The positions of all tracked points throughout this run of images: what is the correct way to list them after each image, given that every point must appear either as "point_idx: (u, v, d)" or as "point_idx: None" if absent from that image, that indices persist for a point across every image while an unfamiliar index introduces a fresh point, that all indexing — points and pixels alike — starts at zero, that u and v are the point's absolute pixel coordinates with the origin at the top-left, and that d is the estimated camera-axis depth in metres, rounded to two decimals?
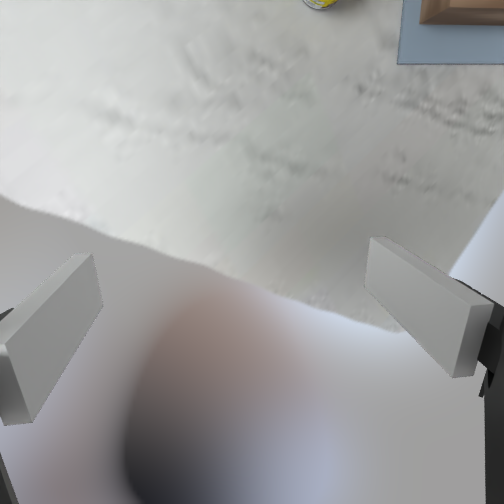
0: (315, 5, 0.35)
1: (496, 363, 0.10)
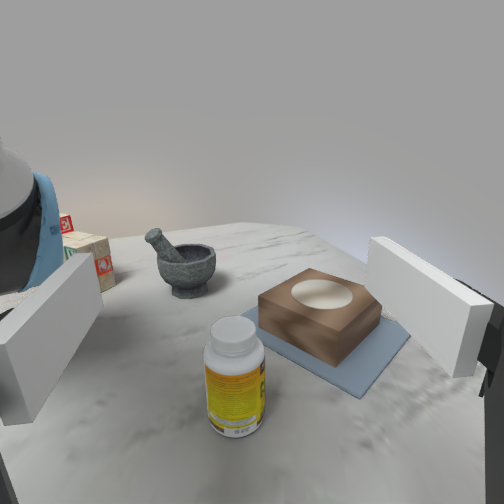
0: (250, 427, 0.29)
1: (496, 363, 0.10)
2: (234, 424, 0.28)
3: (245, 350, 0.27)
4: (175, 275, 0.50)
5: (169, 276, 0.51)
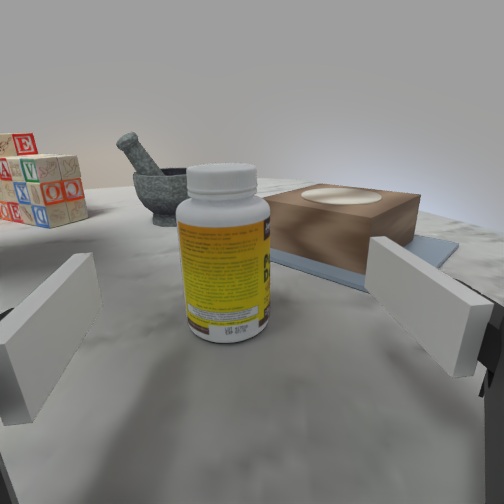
0: (249, 326, 0.19)
1: (496, 363, 0.10)
2: (224, 318, 0.18)
3: (239, 192, 0.17)
4: (155, 191, 0.40)
5: (147, 193, 0.41)
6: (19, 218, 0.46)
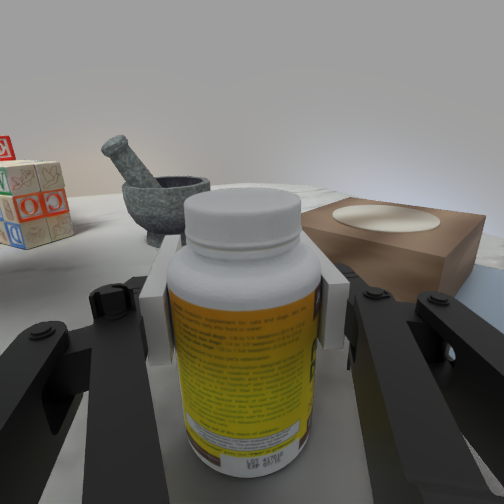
0: (285, 453, 0.12)
1: (355, 339, 0.11)
2: (246, 446, 0.11)
3: (276, 245, 0.10)
4: (148, 207, 0.33)
5: (139, 209, 0.33)
6: None
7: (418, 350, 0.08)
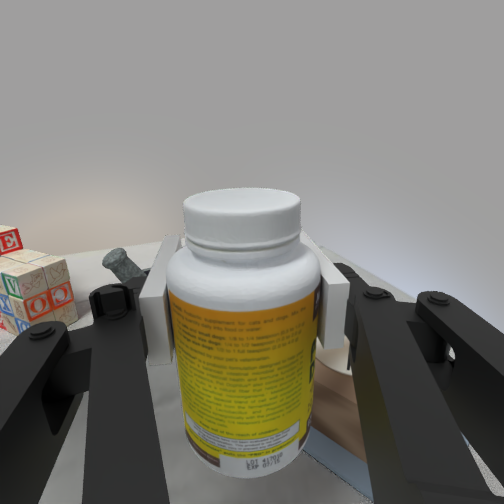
0: (285, 454, 0.12)
1: (355, 338, 0.11)
2: (245, 447, 0.11)
3: (276, 246, 0.10)
4: None
5: None
6: (2, 324, 0.42)
7: (418, 350, 0.08)
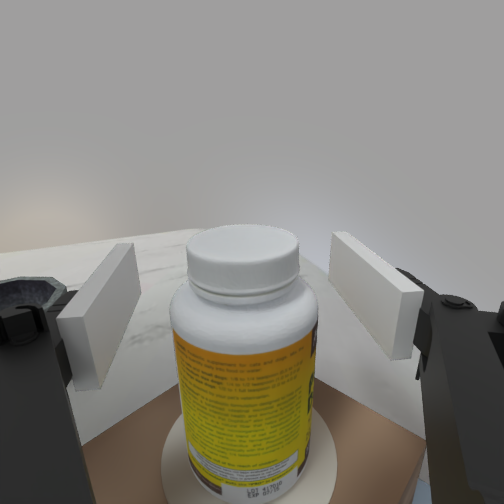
0: (284, 482, 0.12)
1: (428, 347, 0.10)
2: (247, 477, 0.12)
3: (275, 290, 0.10)
4: None
5: None
6: None
7: (500, 366, 0.07)
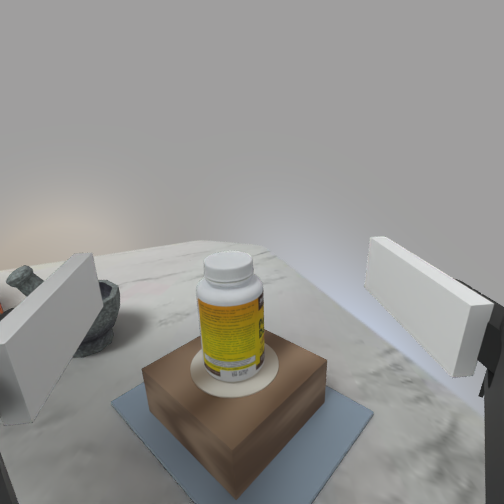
0: (249, 370, 0.27)
1: (496, 363, 0.10)
2: (231, 365, 0.26)
3: (241, 280, 0.25)
4: None
5: None
6: None
7: None
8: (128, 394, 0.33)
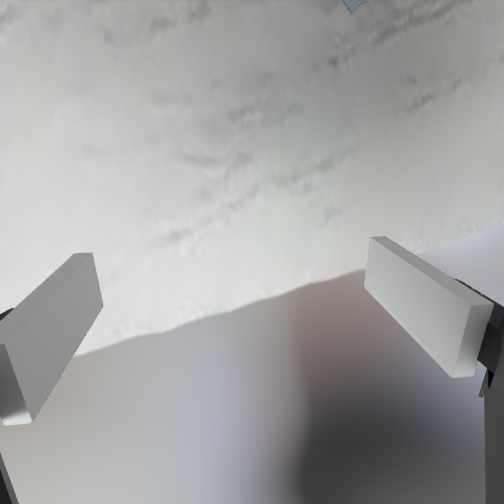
0: None
1: (496, 363, 0.10)
2: None
3: None
4: None
5: None
6: None
7: None
8: None
